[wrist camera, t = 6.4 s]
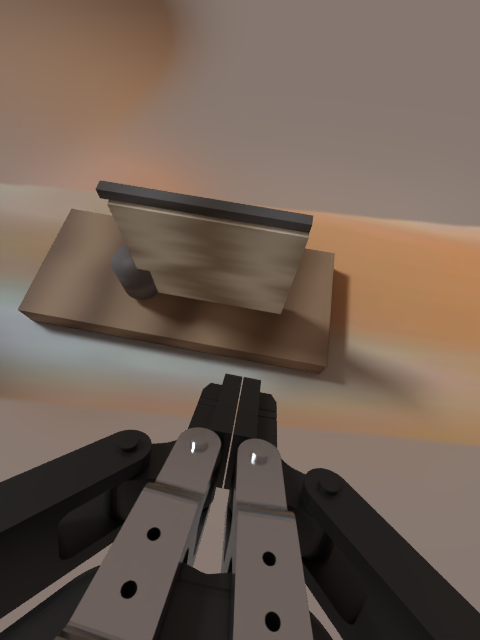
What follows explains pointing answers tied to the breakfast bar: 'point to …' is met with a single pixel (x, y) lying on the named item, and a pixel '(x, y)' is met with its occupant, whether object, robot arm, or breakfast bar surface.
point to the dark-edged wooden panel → (205, 247)
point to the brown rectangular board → (177, 303)
